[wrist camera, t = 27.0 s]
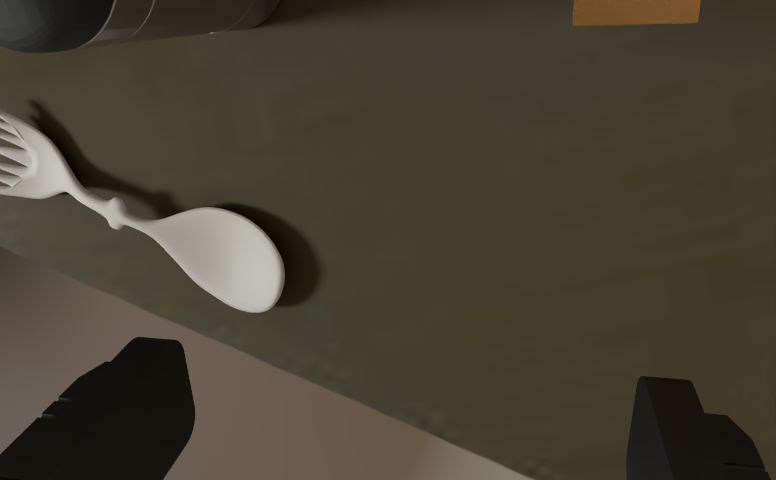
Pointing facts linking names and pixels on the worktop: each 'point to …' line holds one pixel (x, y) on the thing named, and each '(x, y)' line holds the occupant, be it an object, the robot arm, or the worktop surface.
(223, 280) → the spoon
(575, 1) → the wooden block
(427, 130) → the worktop surface
